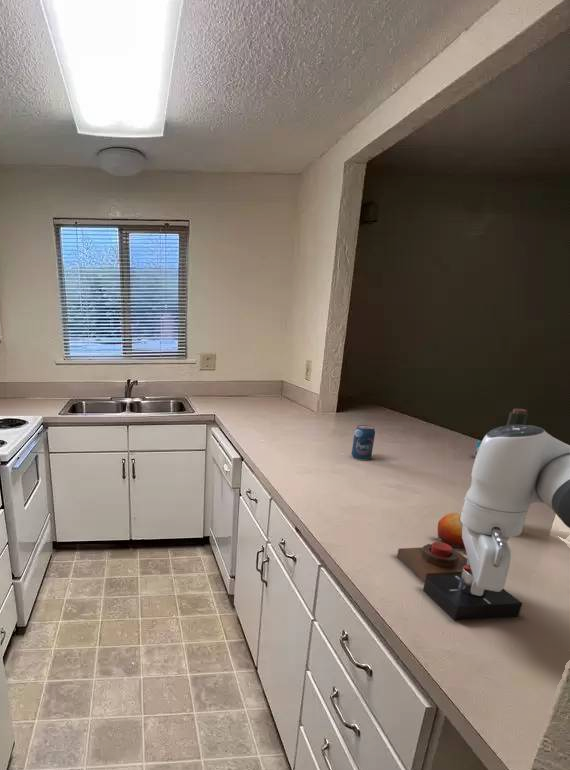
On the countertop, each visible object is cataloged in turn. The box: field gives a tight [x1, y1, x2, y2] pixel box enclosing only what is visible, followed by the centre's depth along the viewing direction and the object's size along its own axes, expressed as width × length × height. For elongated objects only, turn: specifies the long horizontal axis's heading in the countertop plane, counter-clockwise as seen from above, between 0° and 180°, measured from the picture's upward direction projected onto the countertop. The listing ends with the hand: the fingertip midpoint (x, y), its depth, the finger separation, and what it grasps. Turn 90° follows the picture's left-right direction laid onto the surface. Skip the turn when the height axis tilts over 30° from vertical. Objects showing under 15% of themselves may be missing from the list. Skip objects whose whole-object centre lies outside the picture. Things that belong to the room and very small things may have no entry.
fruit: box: [434, 512, 465, 548], centre depth 102 cm, size 8×8×8 cm
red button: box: [431, 541, 453, 557], centre depth 91 cm, size 4×4×2 cm
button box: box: [396, 543, 467, 584], centre depth 92 cm, size 12×10×4 cm
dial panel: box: [422, 576, 523, 621], centre depth 81 cm, size 12×9×3 cm
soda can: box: [351, 424, 376, 461], centre depth 162 cm, size 7×7×12 cm
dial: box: [458, 565, 487, 596], centre depth 80 cm, size 4×4×4 cm
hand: (473, 584), depth 80 cm, fingers closed on dial, 4 cm apart
